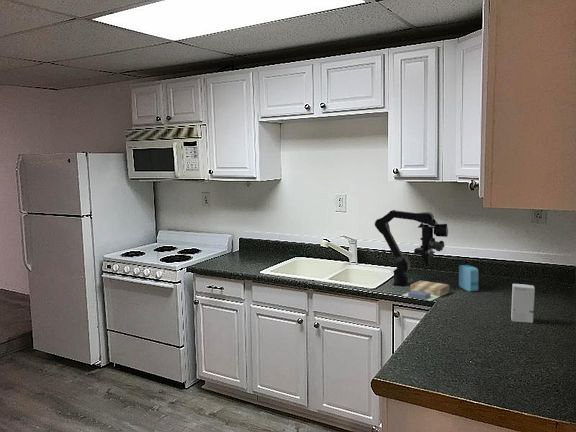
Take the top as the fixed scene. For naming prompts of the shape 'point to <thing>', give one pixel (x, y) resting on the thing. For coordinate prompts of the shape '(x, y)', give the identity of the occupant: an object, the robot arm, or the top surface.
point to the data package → (468, 278)
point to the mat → (424, 299)
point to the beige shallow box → (430, 288)
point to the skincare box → (522, 303)
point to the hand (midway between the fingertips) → (427, 264)
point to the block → (419, 294)
